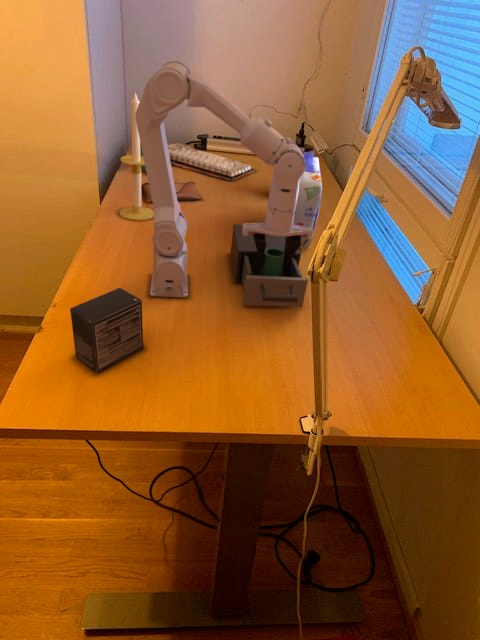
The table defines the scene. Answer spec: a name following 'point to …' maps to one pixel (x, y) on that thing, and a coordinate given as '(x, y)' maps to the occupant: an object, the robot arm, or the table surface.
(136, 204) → the candle
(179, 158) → the mechanical keyboard
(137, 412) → the table surface
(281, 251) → the jar
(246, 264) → the dish drawer
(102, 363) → the small box
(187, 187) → the sunglasses case
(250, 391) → the table surface
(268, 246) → the drawer cabinet
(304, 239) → the lunch box
